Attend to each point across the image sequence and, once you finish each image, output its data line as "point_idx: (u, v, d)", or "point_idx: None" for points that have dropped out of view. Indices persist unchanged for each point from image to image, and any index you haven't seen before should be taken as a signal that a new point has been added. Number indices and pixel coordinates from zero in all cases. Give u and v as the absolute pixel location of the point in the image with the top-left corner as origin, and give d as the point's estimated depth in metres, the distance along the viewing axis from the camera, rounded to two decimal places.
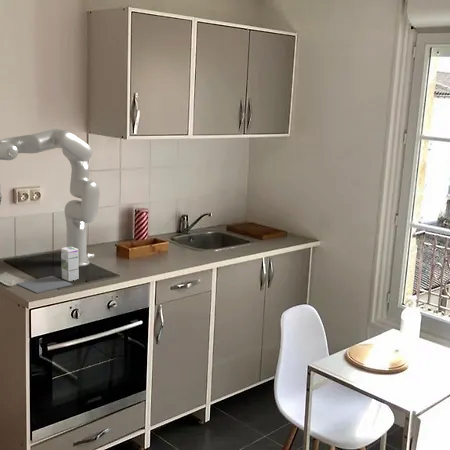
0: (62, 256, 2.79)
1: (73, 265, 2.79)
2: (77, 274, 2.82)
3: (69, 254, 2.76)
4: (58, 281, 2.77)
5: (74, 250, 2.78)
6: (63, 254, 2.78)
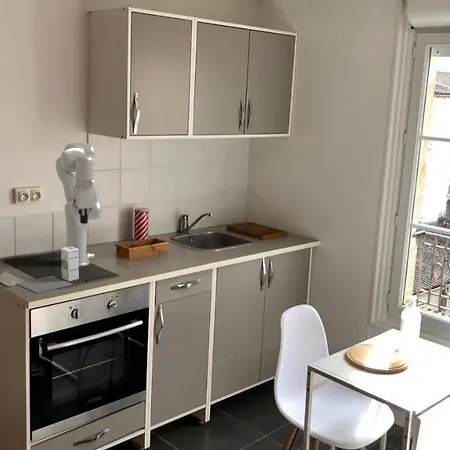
0: (62, 256, 2.79)
1: (73, 265, 2.79)
2: (77, 274, 2.82)
3: (69, 254, 2.76)
4: (58, 281, 2.77)
5: (74, 250, 2.78)
6: (63, 254, 2.78)
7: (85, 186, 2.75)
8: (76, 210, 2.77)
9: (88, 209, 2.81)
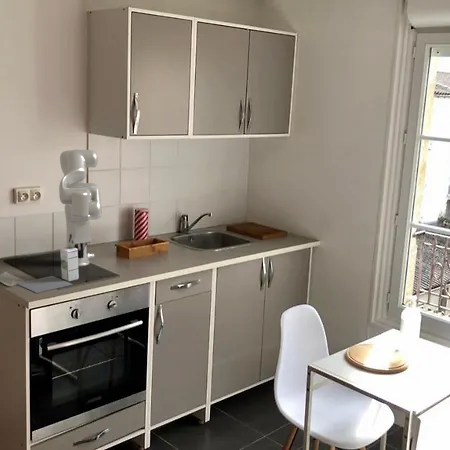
0: (61, 256, 2.79)
1: (73, 265, 2.79)
2: (77, 274, 2.81)
3: (68, 254, 2.76)
4: (58, 281, 2.77)
5: (73, 250, 2.77)
6: (62, 254, 2.78)
7: (81, 221, 2.77)
8: (72, 245, 2.79)
9: (84, 244, 2.83)
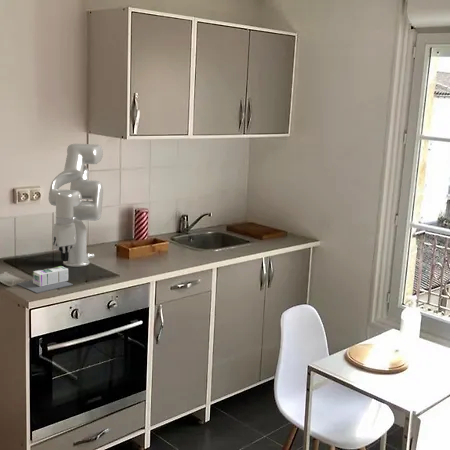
0: None
1: (54, 277, 2.73)
2: (63, 270, 2.76)
3: (43, 284, 2.69)
4: None
5: (40, 279, 2.67)
6: None
7: (65, 224, 2.71)
8: (56, 248, 2.73)
9: (69, 246, 2.77)
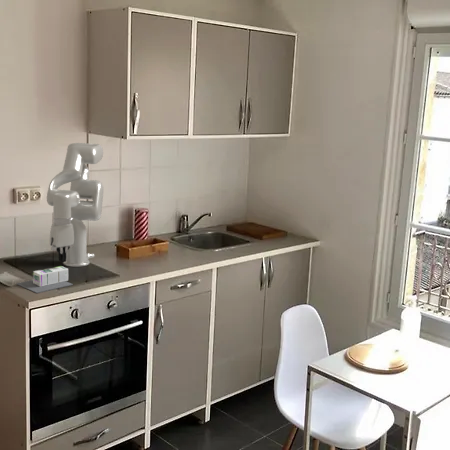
0: None
1: (54, 277, 2.73)
2: (63, 270, 2.76)
3: (43, 284, 2.69)
4: None
5: (40, 279, 2.67)
6: None
7: (63, 224, 2.70)
8: (54, 249, 2.72)
9: (66, 247, 2.76)
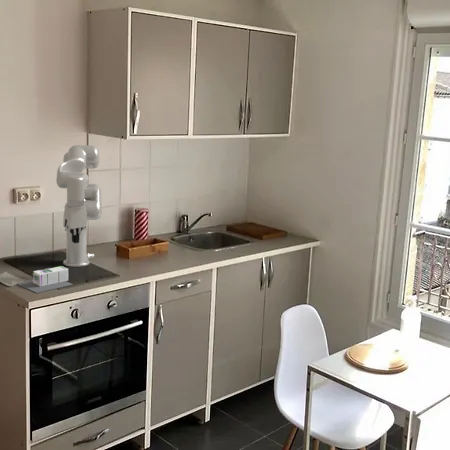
0: None
1: (54, 277, 2.73)
2: (63, 270, 2.76)
3: (43, 284, 2.69)
4: None
5: (40, 279, 2.67)
6: None
7: (76, 206, 2.74)
8: (68, 230, 2.77)
9: (80, 228, 2.80)
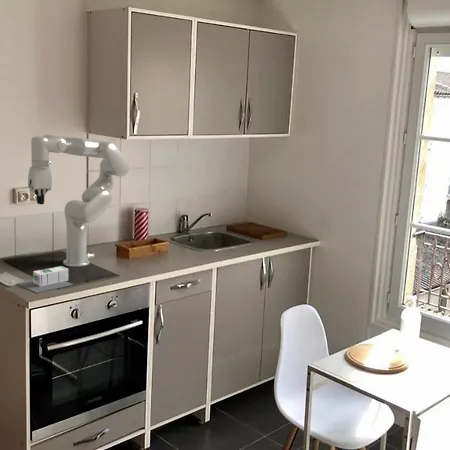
0: None
1: (54, 277, 2.73)
2: (63, 270, 2.76)
3: (43, 284, 2.69)
4: None
5: (40, 279, 2.67)
6: None
7: (41, 166, 2.78)
8: (32, 190, 2.80)
9: (44, 190, 2.84)
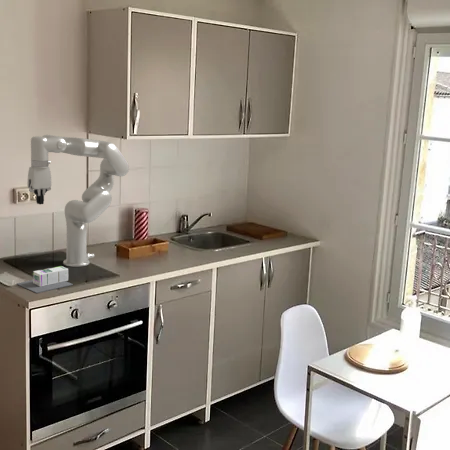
0: None
1: (54, 277, 2.73)
2: (63, 270, 2.76)
3: (43, 284, 2.69)
4: None
5: (40, 279, 2.67)
6: None
7: (40, 166, 2.78)
8: (32, 190, 2.80)
9: (44, 190, 2.84)
